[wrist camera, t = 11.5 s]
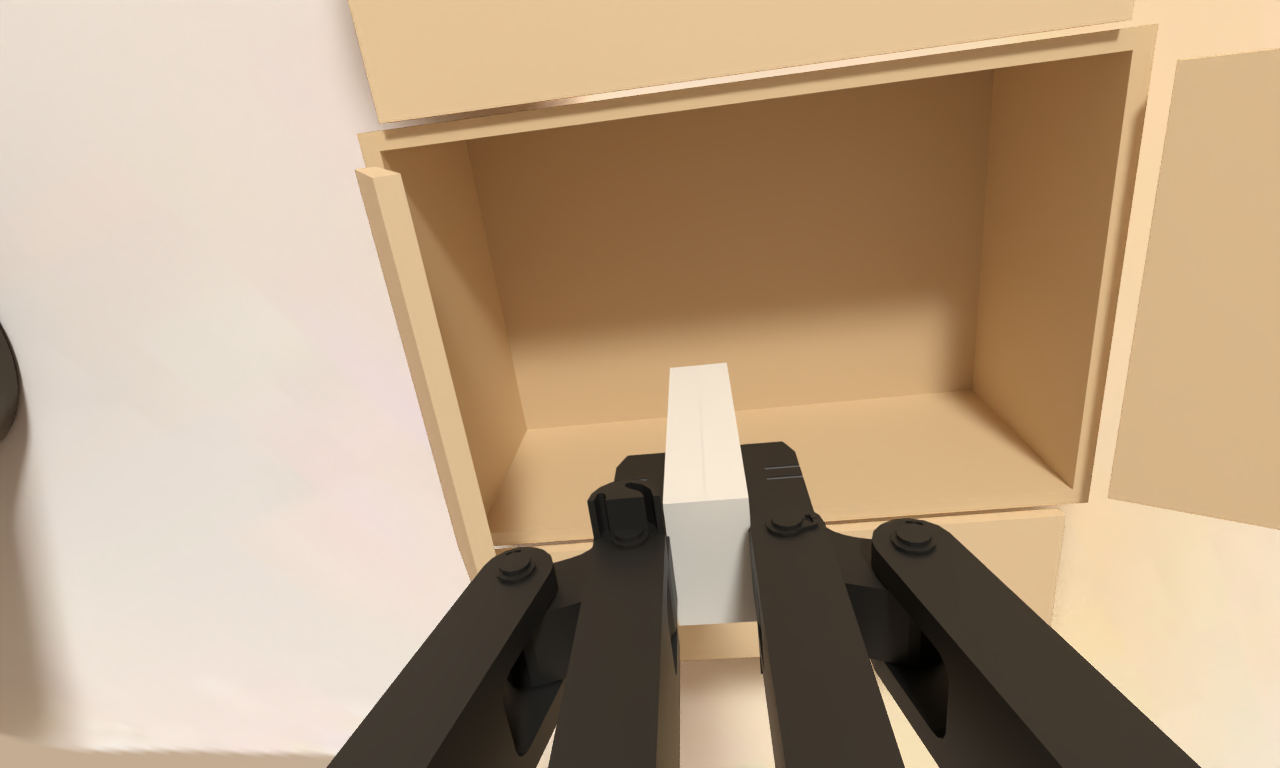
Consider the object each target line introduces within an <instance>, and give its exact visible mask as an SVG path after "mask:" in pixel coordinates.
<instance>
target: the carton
mask: <svg viewBox="0 0 1280 768" xmlns="http://www.w3.org/2000/svg"><path fill="white" fill-rule="evenodd" d="M348 3H349V7H350V11H351V15H352V18H353V22H354V26H355V30H356V34H357V38H358V42H359V46H360V50H361V54H362V58H363V62H364V66H365V69H366V73H367V77H368V81H369V85H370V89H371V93H372V97H373V101H374V105H375V109H376V113H377V117H378V121H379V124H381V123H390V122H397V121H404V120H412V119H419V118H426V117H433V116H441V115H448V114H455V113H462V112H469V111H477V110H484V109H491V108H498V107H505V106H513V105H520V104H527V103H534V102H541V101H549V100H556V99H563V98H570V97H578V96H585V95H592V94H599V93H606V92H614V91H621V90H628V89H635V88H642V87H650V86H657V85H664V84H671V83H679V82H686V81H693V80H700V79H707V78H715V77H722V76H729V75H736V74H743V73H751V72H758V71H765V70H772V69H780V68H787V67H794V66H801V65H808V64H816V63H823V62H830V61H837V60H844V59H852V58H859V57H866V56H873V55H880V54H888V53H895V52H902V51H909V50H917V49H924V48H931V47H938V46H945V45H953V44H960V43H967V42H974V41H981V40H989V39H996V38H1003V37H1010V36H1018V35H1025V34H1032V33H1039V32H1046V31H1054V30H1061V29H1068V28H1075V27H1082V26H1090V25H1097V24H1104V23H1111V22H1118V21H1125V20H1130V19H1132V14H1133V7H1134V0H348ZM1157 30H1158V24H1152V25H1145V26H1138V27H1131V28H1123V29H1116V30H1109V31H1101V32H1094V33H1087V34H1080V35H1072V36H1065V37H1058V38H1051V39H1043V40H1036V41H1029V42H1022V43H1014V44H1007V45H1000V46H992V47H985V48H978V49H971V50H963V51H956V52H949V53H942V54H934V55H927V56H920V57H913V58H905V59H898V60H891V61H883V62H876V63H869V64H862V65H854V66H847V67H840V68H833V69H825V70H818V71H811V72H803V73H796V74H789V75H782V76H774V77H767V78H760V79H753V80H745V81H738V82H731V83H724V84H716V85H709V86H702V87H694V88H687V89H680V90H673V91H665V92H658V93H651V94H644V95H636V96H629V97H622V98H615V99H607V100H600V101H593V102H585V103H578V104H571V105H564V106H556V107H549V108H542V109H535V110H527V111H520V112H513V113H506V114H498V115H491V116H484V117H476V118H469V119H462V120H455V121H447V122H440V123H433V124H426V125H418V126H411V127H404V128H397V129H389V130H382V131H375V132H367V133H360V134H357V136H358V140H359V144H360V147H361V151H362V155H363V159H364V162H365V166H366V168H368V167H374V166H375V167H379V168H382V169H386V170H389V171H393V172H397V173H400V174H401V178H402V182H403V186H404V190H405V194H406V198H407V202H408V206H409V210H410V214H411V218H412V222H413V226H414V230H415V234H416V238H417V242H418V246H419V250H420V254H421V258H422V262H423V266H424V270H425V274H426V278H427V282H428V286H429V290H430V294H431V298H432V302H433V306H434V310H435V314H436V318H437V322H438V326H439V330H440V334H441V338H442V342H443V346H444V350H445V354H446V358H447V362H448V366H449V370H450V374H451V378H452V382H453V386H454V390H455V394H456V398H457V402H458V406H459V410H460V414H461V418H462V422H463V426H464V430H465V434H466V437H467V441H468V445H469V449H470V453H471V457H472V461H473V465H474V469H475V473H476V477H477V481H478V485H479V489H480V493H481V497H482V501H483V505H484V509H485V513H486V517H487V521H488V525H489V529H490V533H491V537H492V541H493V545H494V546H499V545H513V544H526V543H540V542H554V541H567V540H581V539H594V537H593V531H592V526H591V520H590V515H589V509H588V504H587V500H588V499H589V497H590V495H591V493H593V492H594V491H595V490H597V489H598V488H599V487H601V486H604V485H606V484H608V483H611V482H614V478H615V472H616V467H617V466H618V465H619V464H620V463H621V462H622V461H623V460H624V459H625V458H626V457H627V456H629V455H641V454H653V453H665V452H666V434H667V415H668V396H669V377H670V368H675V367H686V366H696V365H707V364H717V363H727V367H728V374H729V380H730V386H731V392H732V398H733V405H734V411H735V417H736V423H737V429H738V436H739V442H740V445H743V444H755V443H767V442H779V441H783V442H784V443H785V444H786V445H788V446H789V447H790V448H791V449H793V450H794V451H795V452H796V456H797V459H798V462H799V467H800V468H801V471H802V475H803V478H804V481H805V484H806V487H807V490H808V494H809V497H810V500H811V503H812V506H813V510H814V512H815V513H817V514H819V515H820V517H821V518H822V519H823V521H824V522H827V521H841V520H854V519H868V518H882V517H895V516H909V515H923V514H936V513H950V512H964V511H977V510H991V509H1005V508H1018V507H1032V506H1046V505H1059V504H1073V503H1087V502H1088V499H1089V492H1090V485H1091V478H1092V471H1093V465H1094V458H1095V451H1096V444H1097V437H1098V431H1099V424H1100V417H1101V410H1102V404H1103V397H1104V390H1105V383H1106V376H1107V370H1108V363H1109V356H1110V349H1111V342H1112V336H1113V329H1114V322H1115V315H1116V308H1117V302H1118V295H1119V288H1120V281H1121V274H1122V268H1123V261H1124V254H1125V247H1126V241H1127V234H1128V227H1129V220H1130V213H1131V207H1132V200H1133V193H1134V186H1135V179H1136V173H1137V166H1138V159H1139V152H1140V145H1141V139H1142V132H1143V125H1144V118H1145V111H1146V105H1147V98H1148V91H1149V84H1150V78H1151V71H1152V64H1153V57H1154V50H1155V44H1156V37H1157ZM917 519H918V520H925V521H928V522H930V523H933V524H936V525H939V526H940V527H942V528H943V529H945V530H946V531H948V532H950V533H951V534H952V535H953V536H954V537H955V538H956V539H957V540H958V541H959V542H960V543H961V544H963V545H964V546H965V547H966V548H967V549H968V550H969V551H970V552H971V553H972V554H973V555H974V556H975V557H976V558H977V559H979V560H980V561H981V562H982V563H983V564H984V565H985V566H986V567H987V568H988V569H989V570H990V571H991V572H992V573H994V574H995V575H996V576H997V577H998V578H999V579H1000V580H1001V581H1002V582H1003V583H1004V584H1005V585H1006V586H1007V587H1009V588H1010V589H1011V590H1012V591H1013V592H1014V593H1015V594H1016V595H1017V596H1018V597H1019V598H1020V599H1021V600H1022V601H1023V602H1025V603H1026V604H1027V605H1028V606H1029V607H1030V608H1031V609H1032V610H1033V611H1034V612H1035V613H1036V614H1037V615H1038V616H1040V617H1041V618H1042V619H1043V620H1044V621H1045V622H1046V623H1047V624H1048V625H1049V626H1050V627H1051V620H1052V613H1053V605H1054V598H1055V590H1056V583H1057V575H1058V568H1059V560H1060V553H1061V546H1062V538H1063V531H1064V523H1065V515H1064V514H1063V513H1062V511H1061V510H1060V509H1059V508H1055V509H1041V510H1028V511H1014V512H1000V513H986V514H973V515H959V516H945V517H931V518H917ZM890 521H891V520H890ZM885 522H888V521H876V522H862V523H849V524H835V525H826V527H827V528H829V529H831V530H832V531H835V532H837V533H840V534H843V535H847V536H852V537H858V538H866V539H872V535H873V531H874V530H875V529H876V528H877V527H878V526H879V525H880V524H883V523H885ZM532 547H535V548H539V549H543V550H545V551H546V552H547V553H549V554H550V555H551V557H552V561H553V563H555V562H558V561H562V560H565V559H569V558H572V557H575V556H578V555H580V554H582V553H584V552H586V551H588V550H590V549H591V548H592V547H593V542H587V543H573V544H560V545H546V546H532ZM511 549H514V548H505V549H495V553H496V556H497V555H499V554H501V553H503V552H504V551H508V550H511ZM677 627H678V634H679V642H680V661H692V660H711V659H729V658H747V657H760V652H759V639H758V626H757V621H755V622H738V623H720V624H702V625H684V626H679V624H678V616H677Z"/></svg>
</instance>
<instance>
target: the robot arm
mask: <svg viewBox="0 0 1280 768" xmlns="http://www.w3.org/2000/svg"><path fill="white" fill-rule="evenodd" d="M17 398H18V386H17V376H16V370H15V366H14V362H13V358H12V355H11V352H10V349H9V347H8V344H7V341H6V339H5V337H4V335H3V333H2V331H1V329H0V441H1V440H2V439H3V438H4V436H5V435H6V433H7V432H8V430H9V428H10V426H11V424H12V421H13V419H14V415H15V412H16V407H17ZM587 504H588V509H589V515H590V520H591V526H592V531H593V537H594V542H593V547H592V548H591V549H590V550H588V551H586V552H584V553H582V554H580V555H578V556H575V557H572V558H569V559H565V560H562V561H558V562H555V563H553V561H552V557H551V555H550V554H549V553H547V552H546V551H545V550H543V549H539V548H535V547H518V548H514V549H511V550H508V551H504V552H503V553H501V554H499V555H497V556H495V557H493V558H492V559H491V560H490V561H489V562H488V563H486V564H485V565H484V566H483V568H482V569H481V570H480V571H479V573H478V574H477V575H476V576H475V578H474V579H473V580H472V582H471V583H470V584H469V585H468V587H467V588H466V589H465V591H464V592H463V593H462V594H461V596H460V597H459V598H458V600H457V601H456V602H455V603H454V605H453V606H452V607H451V609H450V610H449V611H448V612H447V614H446V615H445V616H444V618H443V619H442V620H441V621H440V623H439V624H438V625H437V627H436V628H435V629H434V630H433V632H432V633H431V634H430V636H429V637H428V638H427V639H426V641H425V642H424V643H423V644H422V646H421V647H420V648H419V650H418V651H417V652H416V653H415V655H414V656H413V657H412V659H411V660H410V661H409V662H408V664H407V665H406V666H405V668H404V669H403V670H402V671H401V673H400V674H399V675H398V677H397V678H396V679H395V680H394V682H393V683H392V684H391V686H390V687H389V688H388V689H387V691H386V692H385V693H384V695H383V696H382V697H381V698H380V700H379V701H378V702H377V704H376V705H375V706H374V707H373V709H372V710H371V711H370V712H369V714H368V715H367V716H366V718H365V719H364V720H363V721H362V723H361V724H360V725H359V727H358V728H357V729H356V730H355V732H354V733H353V734H352V736H351V737H350V738H349V739H348V741H347V742H346V743H345V745H344V746H343V747H342V748H341V750H340V751H339V752H338V754H337V755H336V756H335V757H334V759H333V760H332V761H331V763H330V764H329V765H328V766H327V768H536V767H537V765H538V763H539V760H540V758H541V756H542V754H543V752H544V750H545V748H546V746H547V744H548V742H549V739H550V737H551V735H552V733H553V731H554V729H555V727H556V731H555V736H554V741H553V746H552V751H551V756H550V761H549V766H548V768H680V642H679V634H678V627H677V616H678V624H679V626H684V625H702V624H720V623H738V622H755V621H757V626H758V639H759V652H760V665H761V674H763V678H764V685H765V693H766V700H767V708H768V715H769V723H770V730H771V738H772V745H773V753H774V760H775V768H905V767H904V763H903V760H902V757H901V754H900V751H899V748H898V745H897V742H896V739H895V736H894V733H893V730H892V727H891V724H890V721H889V718H888V715H887V711H886V708H885V705H884V702H883V699H882V696H881V693H880V690H879V687H878V684H877V681H876V678H875V675H874V672H873V669H872V666H871V662H870V659H871V661H872V664H873V666H874V669H875V671H876V673H877V674H878V676H879V677H880V679H881V680H882V682H883V683H884V685H885V686H886V688H887V689H888V691H889V692H890V694H891V695H892V697H893V698H894V700H895V701H896V703H897V704H898V706H899V707H900V709H901V710H902V712H903V713H904V715H905V716H906V718H907V719H908V721H909V722H910V724H911V726H912V727H913V729H914V730H915V732H916V733H917V735H918V736H919V738H920V739H921V741H922V742H923V744H924V745H925V747H926V748H927V750H928V751H929V753H930V754H931V756H932V757H933V759H934V760H935V762H936V763H937V765H938V766H939V768H1201V767H1200V766H1199V765H1198V764H1197V763H1196V762H1195V761H1194V760H1193V759H1191V758H1190V757H1189V756H1188V755H1187V754H1186V753H1185V752H1184V751H1183V750H1182V749H1181V748H1180V747H1179V746H1178V745H1176V744H1175V743H1174V742H1173V741H1172V740H1171V739H1170V738H1169V737H1168V736H1167V735H1166V734H1165V733H1164V732H1163V731H1161V730H1160V729H1159V728H1158V727H1157V726H1156V725H1155V724H1154V723H1153V722H1152V721H1151V720H1150V719H1149V718H1148V717H1147V716H1145V715H1144V714H1143V713H1142V712H1141V711H1140V710H1139V709H1138V708H1137V707H1136V706H1135V705H1134V704H1133V703H1132V702H1130V701H1129V700H1128V699H1127V698H1126V697H1125V696H1124V695H1123V694H1122V693H1121V692H1120V691H1119V690H1118V689H1117V688H1115V687H1114V686H1113V685H1112V684H1111V683H1110V682H1109V681H1108V680H1107V679H1106V678H1105V677H1104V676H1103V675H1102V674H1101V673H1099V672H1098V671H1097V670H1096V669H1095V668H1094V667H1093V666H1092V665H1091V664H1090V663H1089V662H1088V661H1087V660H1086V659H1084V658H1083V657H1082V656H1081V655H1080V654H1079V653H1078V652H1077V651H1076V650H1075V649H1074V648H1073V647H1072V646H1071V645H1069V644H1068V643H1067V642H1066V641H1065V640H1064V639H1063V638H1062V637H1061V636H1060V635H1059V634H1058V633H1057V632H1056V631H1055V630H1053V629H1052V628H1051V627H1050V626H1049V625H1048V624H1047V623H1046V622H1045V621H1044V620H1043V619H1042V618H1041V617H1040V616H1038V615H1037V614H1036V613H1035V612H1034V611H1033V610H1032V609H1031V608H1030V607H1029V606H1028V605H1027V604H1026V603H1025V602H1023V601H1022V600H1021V599H1020V598H1019V597H1018V596H1017V595H1016V594H1015V593H1014V592H1013V591H1012V590H1011V589H1010V588H1009V587H1007V586H1006V585H1005V584H1004V583H1003V582H1002V581H1001V580H1000V579H999V578H998V577H997V576H996V575H995V574H994V573H992V572H991V571H990V570H989V569H988V568H987V567H986V566H985V565H984V564H983V563H982V562H981V561H980V560H979V559H977V558H976V557H975V556H974V555H973V554H972V553H971V552H970V551H969V550H968V549H967V548H966V547H965V546H964V545H963V544H961V543H960V542H959V541H958V540H957V539H956V538H955V537H954V536H953V535H952V534H951V533H950V532H948V531H946V530H945V529H943V528H942V527H940V526H939V525H936V524H933V523H930V522H928V521H925V520H918V519H910V518H906V519H895V520H891V521H888V522H885V523H883V524H880V525H879V526H878V527H877V528H876V529H875V530H874V531H873V535H872V539H866V538H858V537H852V536H847V535H843V534H840V533H837V532H835V531H832V530H831V529H829V528H827V527H826V525H825V522H824V521H823V519H822V518H821V517H820V515H819V514H817V513H815V512H814V510H813V506H812V503H811V500H810V497H809V494H808V490H807V487H806V484H805V481H804V478H803V475H802V471H801V468H800V467H799V462H798V459H797V456H796V452H795V451H794V450H793V449H791V448H790V447H789V446H788V445H786V444H785V443H784V442H783V441H779V442H767V443H755V444H743V445H740V442H739V436H738V429H737V423H736V417H735V411H734V405H733V398H732V392H731V386H730V380H729V374H728V367H727V363H717V364H707V365H696V366H686V367H675V368H670V377H669V396H668V415H667V434H666V452H665V453H653V454H641V455H629V456H627V457H626V458H625V459H624V460H623V461H622V462H621V463H620V464H619V465H618V466H617V467H616V472H615V478H614V482H611V483H608V484H606V485H604V486H601V487H599V488H598V489H597V490H595V491H594V492H593V493H591V495H590V497H589V499H588V500H587ZM556 725H557V726H556Z"/></svg>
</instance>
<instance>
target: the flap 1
mask: <svg viewBox="0 0 1280 768" xmlns="http://www.w3.org/2000/svg"><path fill="white" fill-rule="evenodd" d="M355 173H356V177H357V180H358V184H359V188H360V191H361V195H362V199H363V202H364V206H365V209H366V213H367V217H368V220H369V224H370V228H371V231H372V235H373V239H374V242H375V246H376V250H377V253H378V257H379V261H380V264H381V268H382V271H383V275H384V279H385V282H386V286H387V290H388V293H389V297H390V301H391V304H392V308H393V312H394V315H395V319H396V322H397V326H398V330H399V333H400V337H401V341H402V344H403V348H404V352H405V355H406V359H407V363H408V366H409V370H410V373H411V377H412V381H413V384H414V388H415V392H416V395H417V399H418V403H419V406H420V410H421V414H422V417H423V421H424V425H425V428H426V432H427V435H428V439H429V443H430V446H431V450H432V454H433V457H434V461H435V465H436V468H437V472H438V476H439V479H440V483H441V486H442V490H443V494H444V497H445V501H446V505H447V508H448V512H449V516H450V519H451V523H452V527H453V530H454V534H455V537H456V541H457V545H458V548H459V551H460V553H461V556H462V559H463V561H464V564H465V567H466V569H467V572H468V575H469V578H470V580H471V582H472V580H473V579H474V578H475V576H476V575H477V574H478V573H479V571H480V570H481V569H482V568H483V566H484V565H485V564H486V563H488V562H489V561H490V560H491V559H492V558H493V557H495V556H496V553H495V549H494V545H493V541H492V537H491V533H490V529H489V525H488V521H487V517H486V513H485V509H484V505H483V501H482V497H481V493H480V489H479V485H478V481H477V477H476V473H475V469H474V465H473V461H472V457H471V453H470V449H469V445H468V441H467V437H466V434H465V430H464V426H463V422H462V418H461V414H460V410H459V406H458V402H457V398H456V394H455V390H454V386H453V382H452V378H451V374H450V370H449V366H448V362H447V358H446V354H445V350H444V346H443V342H442V338H441V334H440V330H439V326H438V322H437V318H436V314H435V310H434V306H433V302H432V298H431V294H430V290H429V286H428V282H427V278H426V274H425V270H424V266H423V262H422V258H421V254H420V250H419V246H418V242H417V238H416V234H415V230H414V226H413V222H412V218H411V214H410V210H409V206H408V202H407V198H406V194H405V190H404V186H403V182H402V178H401V174H400V173H397V172H393V171H389V170H386V169H382V168H379V167H375V166H374V167H368V168H361V169H355Z"/></svg>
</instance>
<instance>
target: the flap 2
mask: <svg viewBox="0 0 1280 768" xmlns="http://www.w3.org/2000/svg"><path fill="white" fill-rule="evenodd" d="M1108 498H1109V499H1115V500H1120V501H1126V502H1131V503H1137V504H1142V505H1148V506H1153V507H1158V508H1164V509H1169V510H1175V511H1180V512H1186V513H1191V514H1197V515H1202V516H1207V517H1213V518H1218V519H1224V520H1229V521H1235V522H1240V523H1246V524H1251V525H1256V526H1262V527H1267V528H1273V529H1278V530H1280V48H1275V49H1267V50H1258V51H1250V52H1241V53H1233V54H1224V55H1215V56H1207V57H1198V58H1190V59H1181V60H1178V61H1177V67H1176V74H1175V80H1174V86H1173V92H1172V99H1171V105H1170V111H1169V117H1168V124H1167V130H1166V136H1165V142H1164V149H1163V155H1162V161H1161V168H1160V174H1159V180H1158V186H1157V193H1156V199H1155V205H1154V211H1153V218H1152V224H1151V230H1150V236H1149V243H1148V249H1147V255H1146V261H1145V268H1144V274H1143V280H1142V286H1141V293H1140V299H1139V305H1138V311H1137V318H1136V324H1135V330H1134V337H1133V343H1132V349H1131V355H1130V362H1129V368H1128V374H1127V380H1126V387H1125V393H1124V399H1123V405H1122V412H1121V418H1120V424H1119V430H1118V437H1117V443H1116V449H1115V455H1114V462H1113V468H1112V474H1111V481H1110V487H1109V494H1108Z"/></svg>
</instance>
